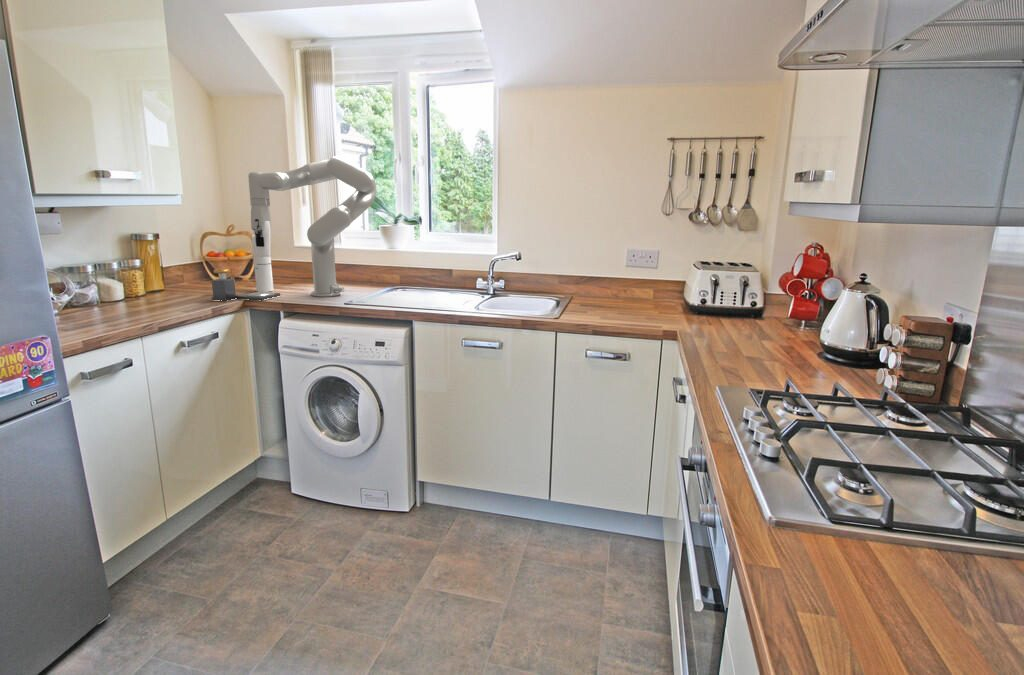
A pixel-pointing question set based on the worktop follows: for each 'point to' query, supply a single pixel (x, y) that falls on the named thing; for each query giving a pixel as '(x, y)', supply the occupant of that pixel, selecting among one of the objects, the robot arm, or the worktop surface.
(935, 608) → the worktop surface
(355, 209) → the robot arm
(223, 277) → the plunger
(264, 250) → the drinking glass
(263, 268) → the cylindrical container
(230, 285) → the press base
